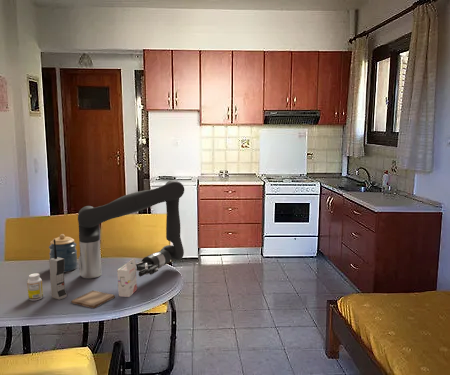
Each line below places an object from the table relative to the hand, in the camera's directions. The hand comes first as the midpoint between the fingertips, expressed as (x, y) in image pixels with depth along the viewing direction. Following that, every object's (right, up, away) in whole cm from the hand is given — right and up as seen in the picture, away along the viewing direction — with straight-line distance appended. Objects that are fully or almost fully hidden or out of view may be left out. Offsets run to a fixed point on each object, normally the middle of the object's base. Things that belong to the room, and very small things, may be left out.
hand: (131, 272), depth 185 cm
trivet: (-14, -9, -9) cm, 19 cm away
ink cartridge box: (-1, -9, -1) cm, 9 cm away
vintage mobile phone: (-29, -9, -5) cm, 31 cm away
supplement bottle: (-38, -10, -6) cm, 40 cm away
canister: (-41, -4, +31) cm, 52 cm away
